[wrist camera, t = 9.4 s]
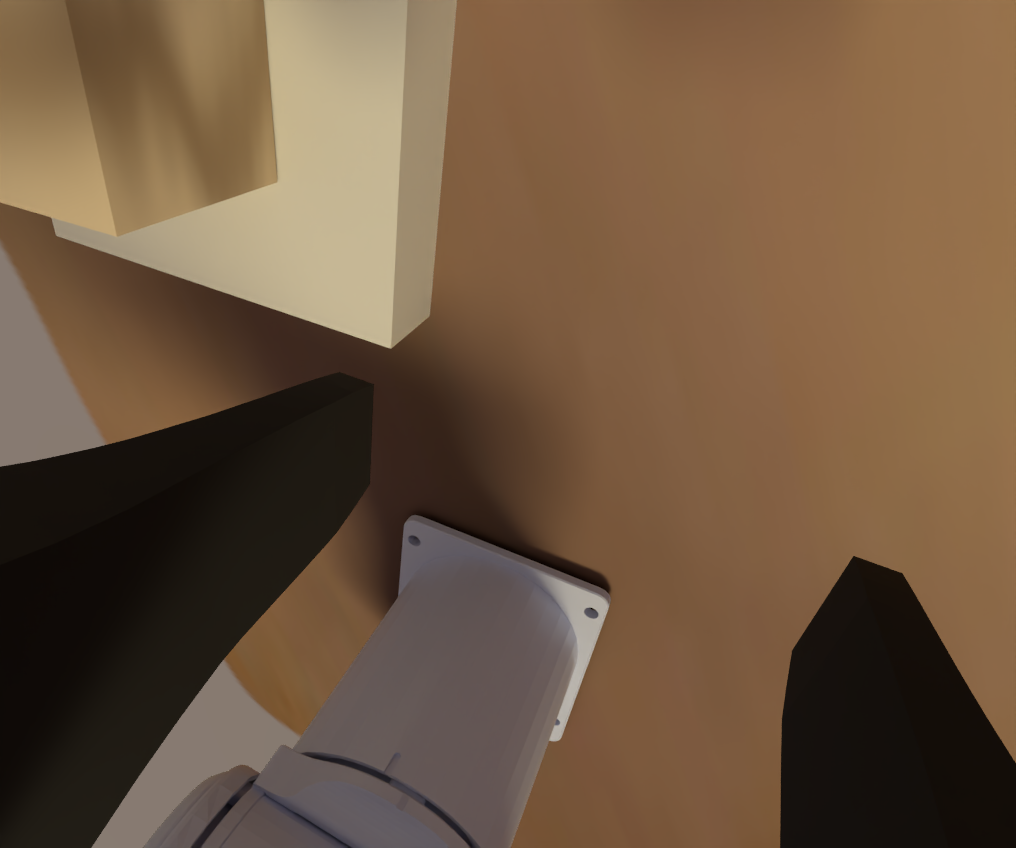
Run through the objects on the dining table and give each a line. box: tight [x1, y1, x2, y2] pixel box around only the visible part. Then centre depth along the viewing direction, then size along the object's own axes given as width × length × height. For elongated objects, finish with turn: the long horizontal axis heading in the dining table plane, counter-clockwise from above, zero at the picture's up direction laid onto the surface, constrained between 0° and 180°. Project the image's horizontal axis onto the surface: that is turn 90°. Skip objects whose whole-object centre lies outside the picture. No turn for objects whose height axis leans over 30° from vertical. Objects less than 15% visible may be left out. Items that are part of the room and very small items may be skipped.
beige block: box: [51, 0, 457, 349], centre depth 18 cm, size 12×12×3 cm
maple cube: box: [0, 0, 277, 237], centre depth 14 cm, size 5×5×5 cm
